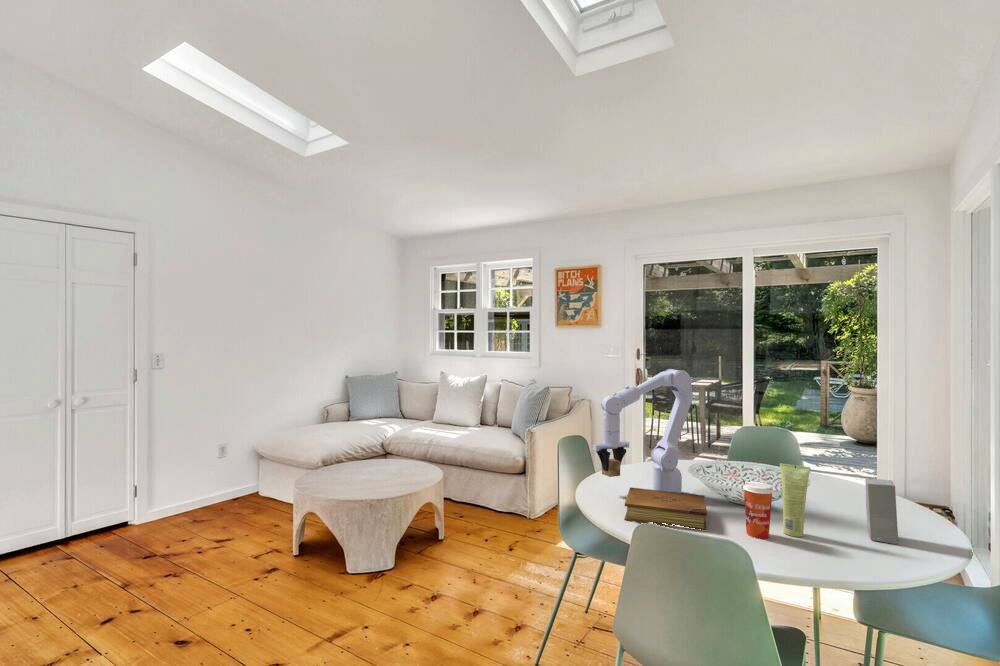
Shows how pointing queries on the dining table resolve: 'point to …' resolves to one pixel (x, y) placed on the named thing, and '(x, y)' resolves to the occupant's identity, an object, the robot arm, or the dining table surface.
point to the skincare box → (881, 510)
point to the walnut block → (612, 468)
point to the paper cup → (757, 508)
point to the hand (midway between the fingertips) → (611, 469)
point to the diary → (666, 508)
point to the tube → (794, 497)
